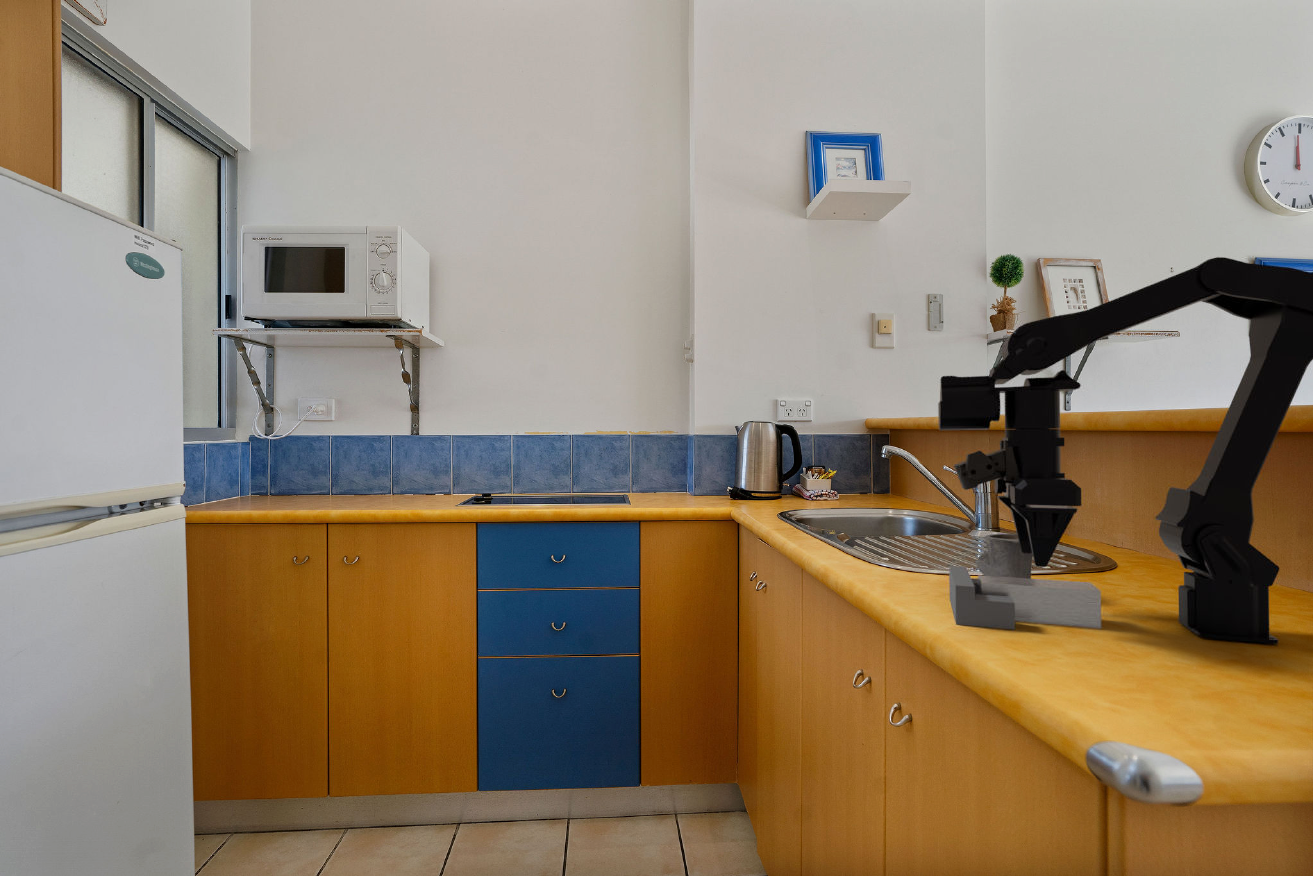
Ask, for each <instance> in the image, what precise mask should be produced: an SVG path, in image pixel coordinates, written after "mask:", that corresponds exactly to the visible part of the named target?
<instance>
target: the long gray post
mask: <svg viewBox="0 0 1313 876" xmlns="http://www.w3.org/2000/svg"><path fill="white" fill-rule="evenodd" d="M977 579H978V594H979V595H992V596H1006V597H1011V598H1012V600H1013V601H1014V603H1015V622H1020V623H1030V624H1031V623H1032V624H1041V625H1042V624H1043V625H1054V626H1055V625H1056V626H1063V627H1064V626H1067V627H1077V628H1088V629H1089V628H1090V629H1099V630H1100V629H1102V601H1101V599H1102V598H1101V597H1102V594H1101V593H1102V592H1101V590H1100V589H1099V587H1096V585H1094V584H1093V583H1092V582H1090V581H1089V582H1086V581H1073V580H1072V581H1070V580H1058V579H1057V580H1055V579H1042V578H1041V579H1040V578H1031V579H1028V578H1013V577H997V576H984V575H983V574H982V575H980V574H979V575H977Z"/></svg>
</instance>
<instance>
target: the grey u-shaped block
mask: <svg viewBox="0 0 1313 876" xmlns="http://www.w3.org/2000/svg"><path fill="white" fill-rule="evenodd" d="M948 568H949V571H948V572H949V575H948V576H949V602H950V607H951V611H952V615H953V619H954V622H955V625H959V626H970V627H983V628H991V629H1003V630H1015V629H1016V621H1015V603H1014V601H1013V600H1012V598H1011V597H1006V596H992V595H979V594H978V578H972V577H971V575H970V573H969V570H968V568H967V566H959V565H958V566H957V565H949V567H948Z"/></svg>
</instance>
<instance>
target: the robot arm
mask: <svg viewBox="0 0 1313 876" xmlns="http://www.w3.org/2000/svg"><path fill="white" fill-rule="evenodd" d="M1200 302H1202V303H1205V304H1209V305H1212V306H1214V307H1216V308H1218V309H1220V310H1223V311H1224V312H1226V313H1229V315H1232V316H1235V317H1239V318H1242V319H1244V320H1249V321H1250V325H1249V326H1250V327H1249V330H1248V331H1249V332H1248V340H1249V352H1250V357H1249V362H1248V364H1247V366H1246V367H1245V371H1244V373H1243V375H1242V377H1241V379H1240V382H1239V384H1238V386H1237V389H1236V391H1235V393H1234V396H1233V398H1232V400H1231V403H1230V405H1229V407H1228V410H1227V412H1226V414H1225V416H1224V419H1223V420H1222V423H1221V425H1220V427H1219V430H1218V432H1217V434H1216V437H1215V439H1214V442H1213V444H1212V446H1211V448H1210V450H1209V453H1208V455H1207V458H1206V460H1205V462H1204V465H1203V466H1202V469H1201V471H1200V473H1199V474H1198V475H1199V476H1198V477H1197V479H1196V480H1194V481H1193V482H1192V483H1191V484H1190V485H1189V487H1188V488H1186V489H1185V488H1178V487H1173V486H1170V487H1169V488H1168V492H1167V494H1166V498H1165V503H1164V507H1163V508H1162V510H1161V511H1160V512H1159V513H1158V514H1157V515H1156V516H1154V517H1155V518H1154V519H1155V520H1158V521H1159V522H1160V523H1159V528H1158V535H1159V537H1160V539H1161V541H1162V542H1163V544H1164V546H1165V547H1166V548H1168V550H1169V551H1170V552H1172V553H1173V554H1176V555H1177V557H1178V560H1179V561H1180V564H1181V565H1182V567H1183V569H1186V570H1189V571H1184V572H1183V584H1180V585H1178V588H1177V590H1178V591H1177V592H1178V619H1177V620H1178V623H1179V624H1181V626H1184V627H1185V628H1187V629H1188V630H1189V631H1191V633H1194V634H1195V635H1196V636H1198V637H1201V638H1204V639H1205V638H1207V639H1215V640H1216V639H1217V640H1227V641H1239V642H1248V643H1249V642H1252V643H1263V644H1275V645H1278V644H1279V639H1278V638H1277V637H1275V636H1273V635H1271V634H1270V593H1269V592H1270V588H1269V587H1272V586H1274V582H1275V580H1276V578H1277V576H1278V574H1279V571H1280V566H1279V565H1277V564H1276V563H1275V562H1273V560H1271V559H1270V558H1269V557H1267V556H1266V555H1265V554H1263V553H1262V552H1261V551H1260V550H1258V549H1257V548H1256V547H1254V546H1253V545H1252V544H1251V543H1250V540H1251V535H1252V531H1253V527H1254V520H1255V517H1254V507H1253V506H1254V505H1253V489H1254V486H1255V485H1256V482H1257V480H1258V477H1259V476H1260V473H1261V471H1262V468H1263V466H1264V465H1265V461H1267V458H1268V455H1269V453H1270V451H1271V449H1272V446H1273V444H1274V442H1275V440H1276V438H1277V435H1278V433H1279V431H1280V428H1281V427H1282V424H1283V422H1284V420H1285V417H1286V416H1287V413H1288V411H1289V410H1290V409H1289V408H1290V406H1291V404H1292V402H1293V400H1294V397H1295V395H1296V393H1297V391H1298V388H1299V386H1300V384H1301V382H1302V379H1303V378H1304V375H1305V373H1306V371H1307V368H1308V367H1309V365H1310V363H1311V362H1312V361H1313V271H1311V272H1309V271H1306V270H1301V269H1298V268H1293V267H1285V266H1280V265H1268V264H1260V263H1259V264H1258V263H1257V264H1256V263H1249V262H1245V261H1242V260H1241V261H1240V260H1237V259H1233V258H1229V257H1220V256H1216V257H1213V258H1209V259H1206V260H1205V261H1204V262H1202V263H1200V264H1198V265H1197V266H1194V267H1192V268H1190V269H1188V270H1185V271H1182V272H1180V273H1177V274H1175V275H1172V276H1170V277H1168V278H1164V279H1163V280H1160V281H1157V282H1154V283H1152V284H1149V285H1147V286H1145V287H1142V288H1139V289H1137V290H1135V291H1132V292H1129V293H1127V294H1125V295H1122V296H1119V297H1116V298H1114V299H1111V300H1109V301H1106V302H1104V303H1102V304H1099V305H1097V306H1094V307H1092V308H1089V309H1085V310H1082V311H1077V312H1072V313H1071V312H1070V313H1066V314H1059V315H1055V316H1050V317H1046V318H1042V319H1038V320H1033V321H1029V322H1026V323H1024V324H1022V325H1020V326H1019V327H1017V328H1016V329H1015V330H1013V332H1012V333H1011V334H1010V335H1009V336H1008V337H1007V338H1006V339H1005V341H1004V343H1003V345H1002V347H1001V360H1000V361H999V363H997V365H996V366H993V367H992V368H990V370H989V375H978V376H977V375H976V376H975V375H974V376H956V375H944V376H941V377H940V388H939V389H940V391H939V402H938V403H937V405H938V406H937V407H938V410H937V412H938V413H937V414H938V430H939V431H981V430H982V431H988V430H990V427H991V422H999V421H1000V418H1001V394H1004V437H1002V439H1001V440H1000V441H999V449H998V450H996V451H993V452H989V453H985V452H983V451H981V450H977V451H975V452H972V453H967V454H966V459H965V461H961V462H958V463H956V464H953V468H954V470H955V473H956V475H957V478H958V481H959V482H960V486H961V487H962V489H963V490H965V491H967V490H970V489H974V488H978V487H979V485H981V484H985V483H988V482H991V481H994V493H995V494H998V495H996V497H997V500H999V501H1000V502H1001V503H1003V505H1005V506H1006V507H1007V508H1008V509H1009V510H1010V513H1011V516H1012V520H1013V523H1014V528H1015V532H1016V534H1017V536H1018V540H1019V544H1020V548H1021V551H1022V553H1028V554H1030V553H1032V554H1033V557H1032V560H1033V562H1034V566H1036V567H1039V568H1041V567H1042V568H1046V567H1047V566H1048V564H1049V562H1050V561H1051V559H1052V557H1053V555H1054V552H1055V551H1056V549H1057V547H1058V545H1059V542H1060V541H1061V539H1062V538H1063V535H1064V533H1065V532H1066V530H1067V528H1068V526H1069V524H1070V522H1071V521H1072V519H1073V518H1074V515H1075V514H1077V513H1078V508H1077V507H1082V488H1081V487H1080V486H1079V485H1078V484H1076V483H1075V482H1074V481H1073V480H1072V479H1069V478H1066V474H1065V473H1064V472H1061V471H1062V470H1061V469H1062V468H1061V463H1062V462H1061V447H1065V437H1061V396H1060V395H1061V392H1072V391H1075V390H1078V389H1080V388H1081V383H1080V382H1079V381H1076V380H1075V379H1074V378H1072V377H1071V376H1070V375H1069V374H1068V373H1067V372H1066V370H1065V369H1061V370H1059V371H1057V372H1056V374H1054V376H1052V377H1051V376H1050V377H1049V376H1048V377H1047V376H1045V377H1027V378H1025V379H1024V382H1023V385H1021V386H1002V387H1001V386H1000V387H996V385H1004V384H1006V383H1009V382H1010V381H1011V380H1013V379H1014V378H1016V377H1018V376H1019V375H1022V376H1030V375H1032V376H1033V375H1036V374H1039V373H1040V372H1041V373H1042V372H1043V371H1044V370H1046V369H1049V368H1051V366H1052V367H1053V366H1054V365H1055V364H1057V363H1059V362H1061V361H1062V360H1064V359H1066V358H1068V357H1070V356H1071V355H1072V354H1075V353H1077V352H1079V351H1080V350H1082V349H1084V348H1085V347H1087V346H1089V345H1091V344H1092V343H1095V342H1097V341H1099V340H1102V339H1104V338H1105V339H1106V338H1107V337H1108V338H1109V337H1110V336H1113V335H1115V334H1118V333H1120V332H1123V331H1125V330H1128V329H1131V328H1134V327H1136V326H1139V325H1142V324H1145V323H1147V322H1149V321H1152V320H1155V319H1157V318H1160V317H1162V316H1165V315H1168V314H1170V313H1173V312H1176V311H1178V310H1181V309H1184V308H1186V307H1190V306H1192V305H1194V304H1197V303H1200ZM999 494H1000V495H999ZM1002 494H1003V495H1002Z"/></svg>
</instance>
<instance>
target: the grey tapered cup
mask: <svg viewBox="0 0 1313 876" xmlns="http://www.w3.org/2000/svg"><path fill="white" fill-rule="evenodd" d="M984 540H985V544H986V548H987V549H986V550H987V551H984V552H983V553H981V554H980V555H979V556H978V558H977V562H976V566H977V569H978V571H979V572H980V573H981V574H982V576H997V577H1013V578H1028V579H1032V565H1033V554H1032V553H1030V554H1028V553H1022V551H1021V548H1020V544H1019V540H1018V536H1017V533H992V534H988V535H984Z"/></svg>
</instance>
